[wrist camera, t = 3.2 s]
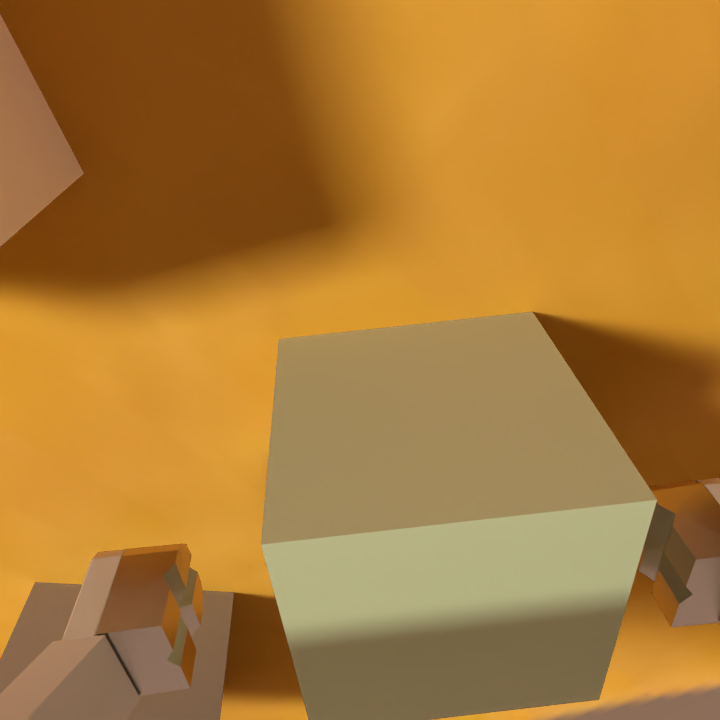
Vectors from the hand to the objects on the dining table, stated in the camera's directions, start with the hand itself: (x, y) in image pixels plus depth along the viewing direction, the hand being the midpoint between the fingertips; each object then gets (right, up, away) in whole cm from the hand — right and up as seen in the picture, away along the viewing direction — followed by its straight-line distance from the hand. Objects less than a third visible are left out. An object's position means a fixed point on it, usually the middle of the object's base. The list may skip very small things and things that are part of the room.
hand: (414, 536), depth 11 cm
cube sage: (0, +2, +2) cm, 3 cm away
